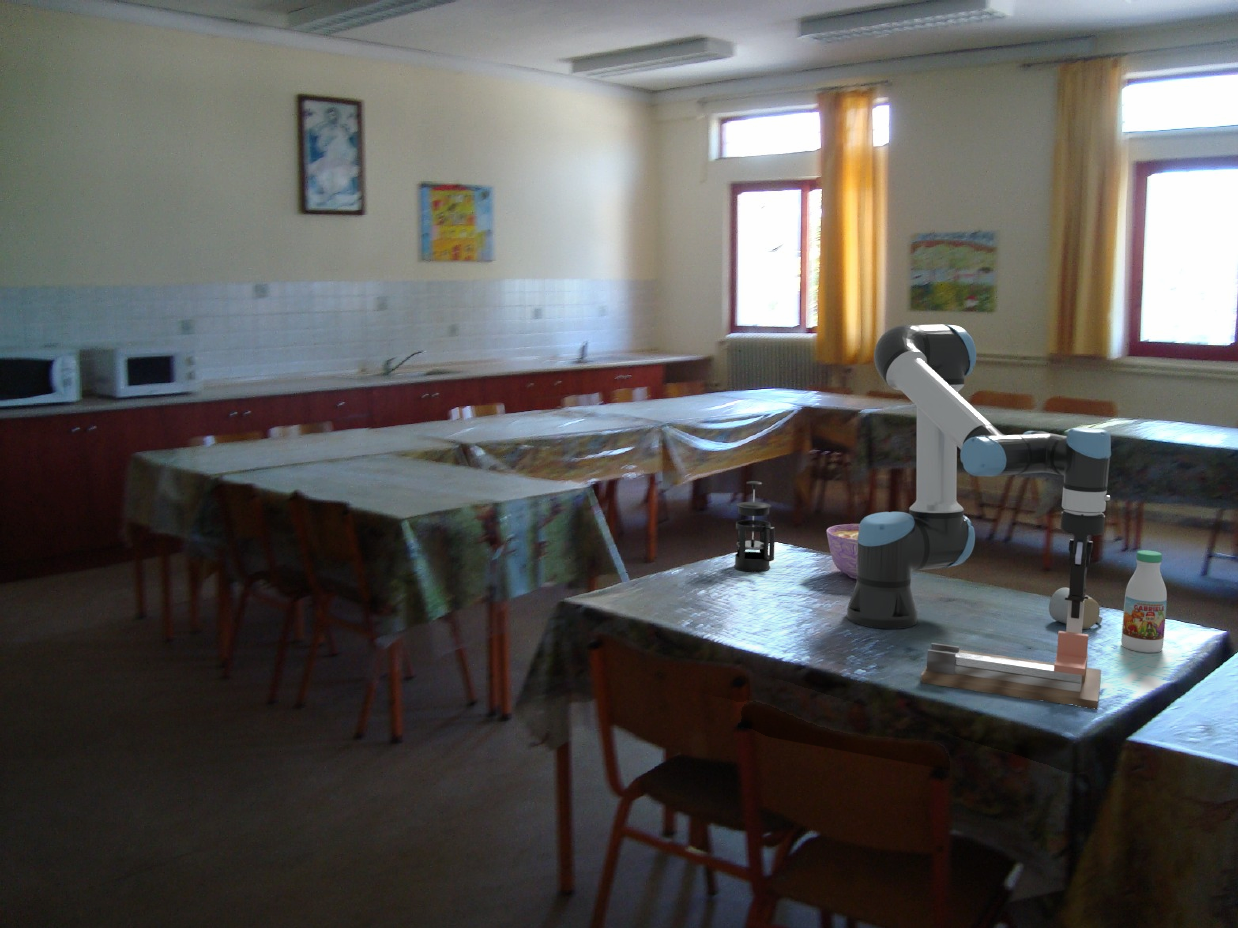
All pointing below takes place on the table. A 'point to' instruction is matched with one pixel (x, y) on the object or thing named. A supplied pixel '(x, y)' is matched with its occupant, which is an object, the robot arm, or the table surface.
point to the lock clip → (1071, 653)
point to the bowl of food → (844, 547)
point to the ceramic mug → (1060, 609)
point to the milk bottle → (1145, 605)
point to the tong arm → (1013, 666)
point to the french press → (753, 559)
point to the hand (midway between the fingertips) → (1073, 632)
